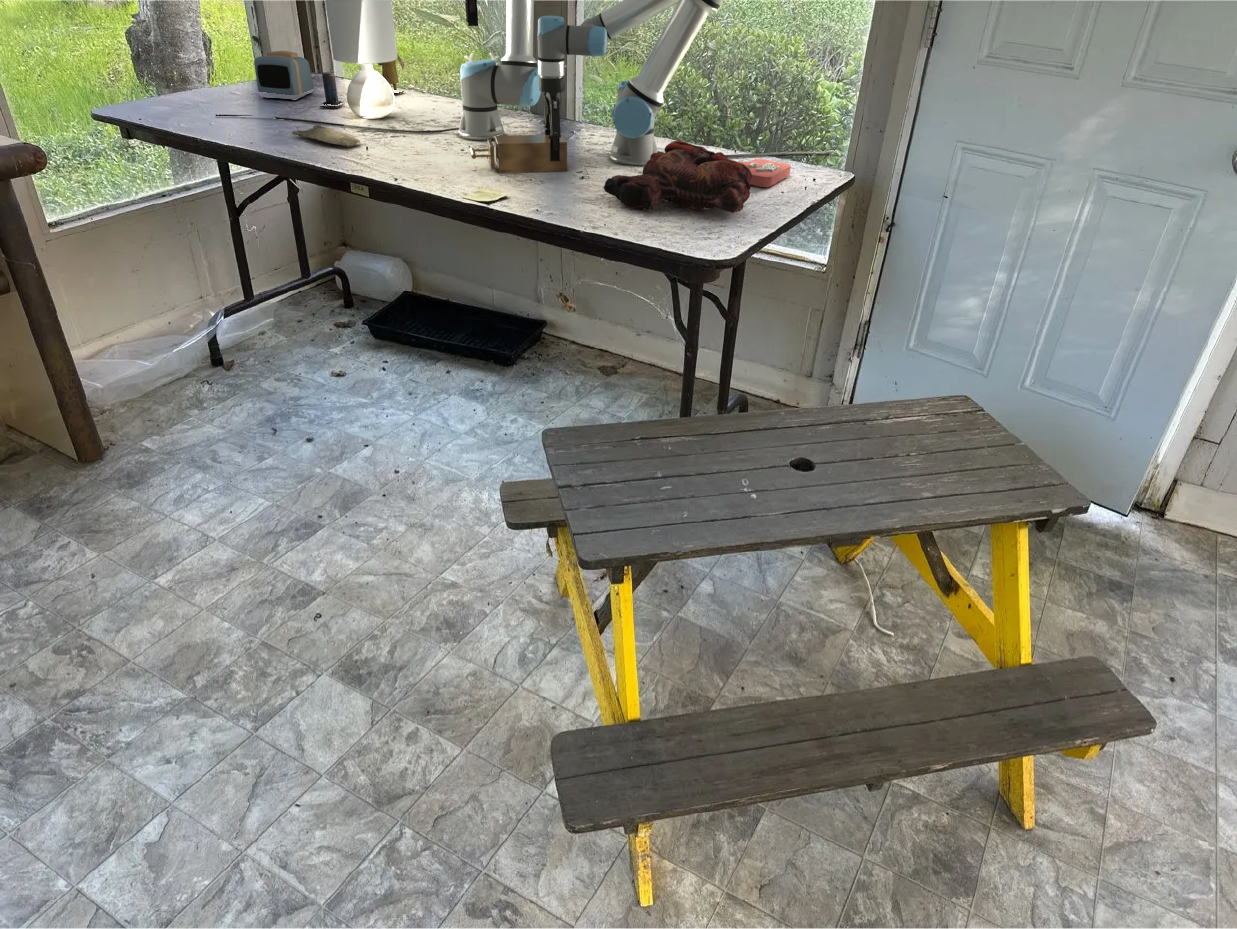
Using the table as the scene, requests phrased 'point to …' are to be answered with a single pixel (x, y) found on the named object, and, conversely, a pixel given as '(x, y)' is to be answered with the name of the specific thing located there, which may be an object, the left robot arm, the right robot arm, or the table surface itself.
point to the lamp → (364, 51)
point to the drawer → (490, 153)
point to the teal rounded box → (283, 73)
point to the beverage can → (330, 90)
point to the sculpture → (685, 180)
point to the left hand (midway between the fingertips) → (472, 23)
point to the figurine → (391, 72)
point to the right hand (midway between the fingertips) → (552, 155)
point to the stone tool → (328, 136)
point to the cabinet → (528, 154)
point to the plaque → (767, 172)
